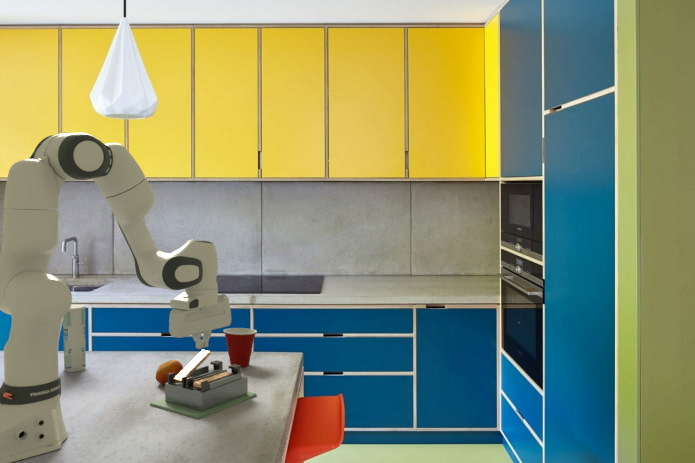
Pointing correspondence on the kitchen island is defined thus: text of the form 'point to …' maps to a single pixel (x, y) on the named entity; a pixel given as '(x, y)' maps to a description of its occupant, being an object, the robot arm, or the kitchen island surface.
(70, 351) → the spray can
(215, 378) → the strap near
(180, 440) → the kitchen island surface
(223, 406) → the board
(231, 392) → the grey toaster
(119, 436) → the kitchen island surface
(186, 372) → the strap far
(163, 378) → the fruit
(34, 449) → the robot arm
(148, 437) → the kitchen island surface
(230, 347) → the plastic cup
